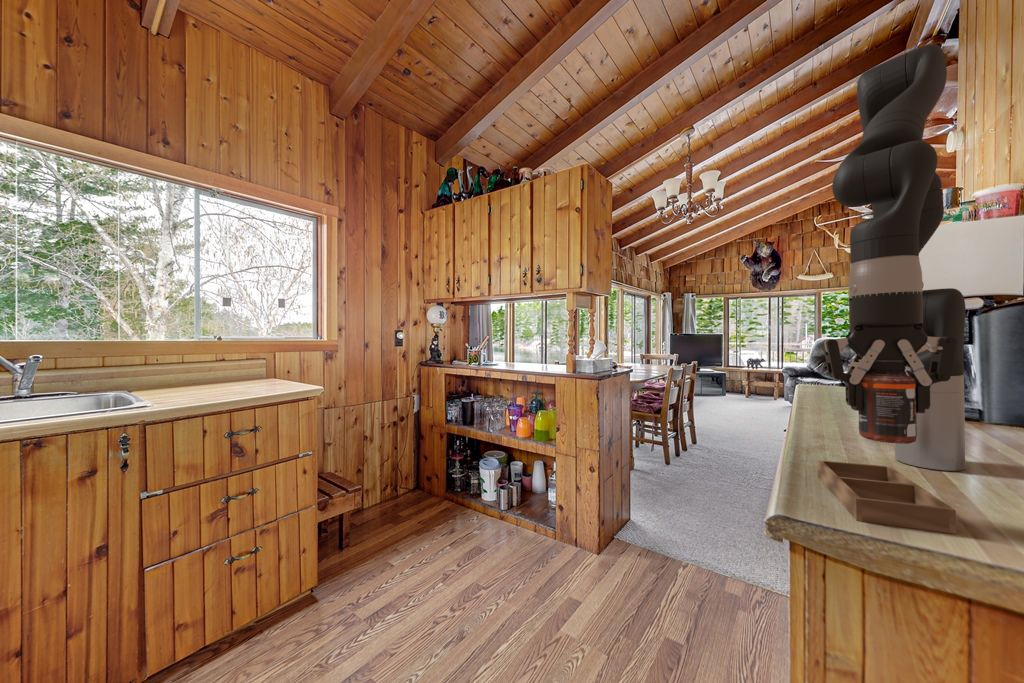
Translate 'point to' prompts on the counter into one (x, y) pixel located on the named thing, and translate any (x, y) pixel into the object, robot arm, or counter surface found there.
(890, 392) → the supplement bottle
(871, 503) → the caddy
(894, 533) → the counter surface
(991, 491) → the counter surface
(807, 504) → the counter surface
